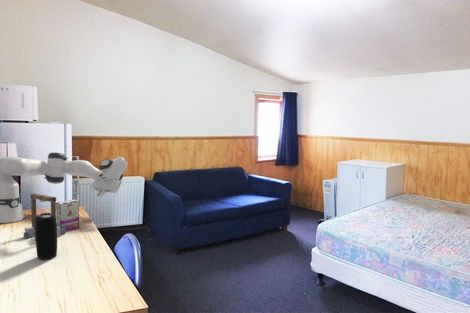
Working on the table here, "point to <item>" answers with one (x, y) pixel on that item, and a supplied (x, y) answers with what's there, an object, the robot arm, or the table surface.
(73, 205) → the candy bar box
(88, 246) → the table surface
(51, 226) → the portable speaker
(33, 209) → the aperture gantry
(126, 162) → the robot arm
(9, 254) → the table surface
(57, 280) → the table surface
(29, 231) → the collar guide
